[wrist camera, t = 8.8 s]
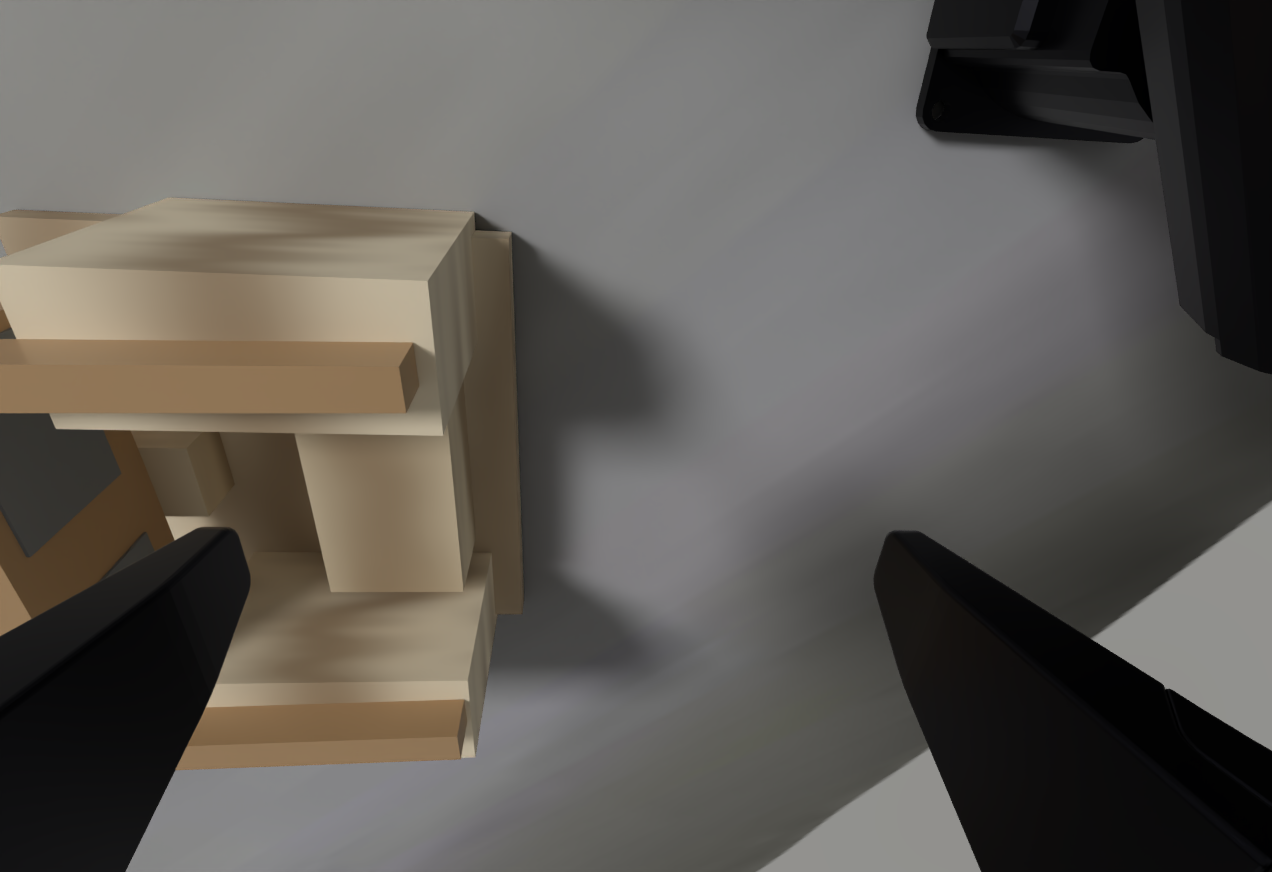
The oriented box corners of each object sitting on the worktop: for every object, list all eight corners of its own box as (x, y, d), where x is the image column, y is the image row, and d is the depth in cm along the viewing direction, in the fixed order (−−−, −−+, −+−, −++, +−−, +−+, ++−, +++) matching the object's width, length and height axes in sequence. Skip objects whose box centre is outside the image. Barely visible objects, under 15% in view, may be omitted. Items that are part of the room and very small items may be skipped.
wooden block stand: (510, 213, 18) (479, 282, 13) (524, 608, 26) (508, 756, 21) (6, 190, 17) (-258, 255, 12) (173, 609, 25) (58, 767, 19)
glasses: (446, 284, 17) (398, 366, 12) (484, 625, 23) (460, 759, 19) (5, 278, 16) (-209, 363, 12) (165, 632, 22) (63, 774, 18)
